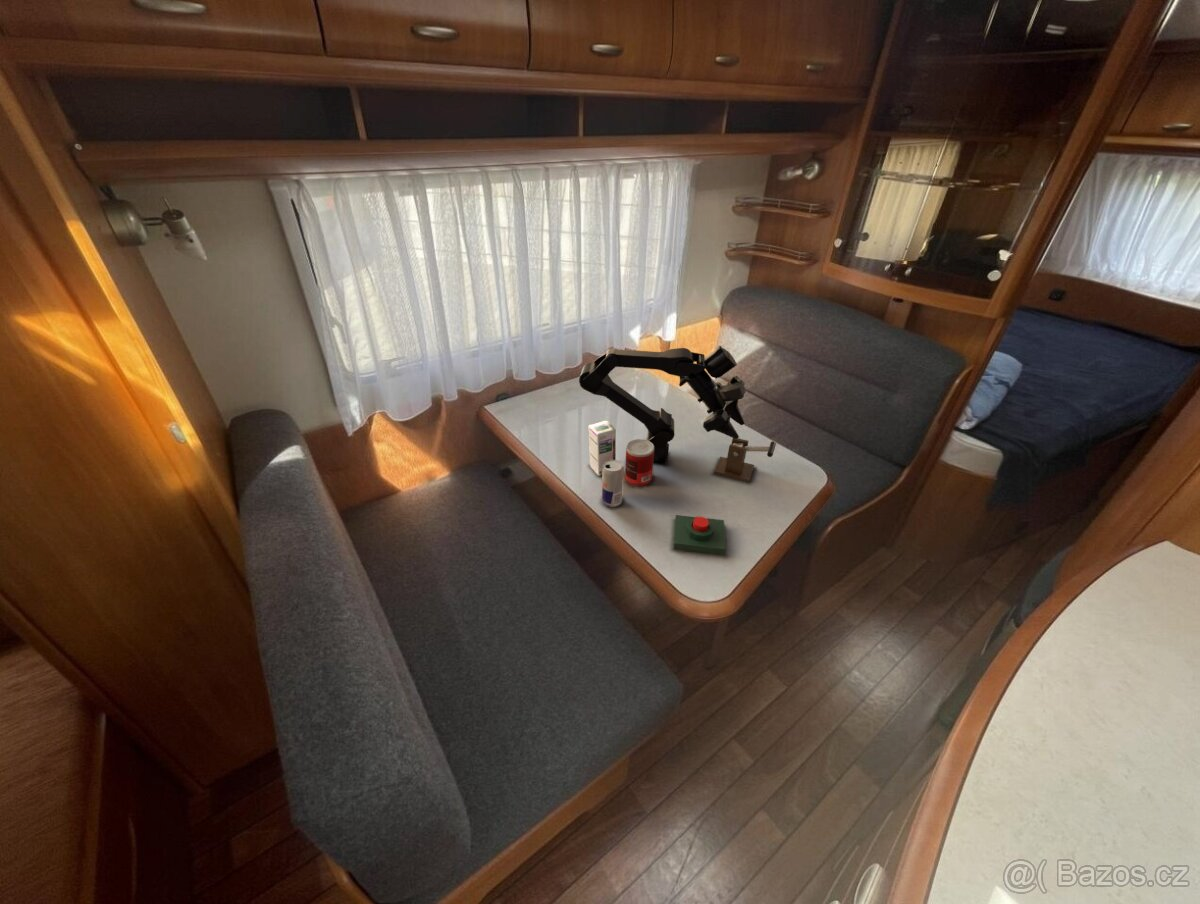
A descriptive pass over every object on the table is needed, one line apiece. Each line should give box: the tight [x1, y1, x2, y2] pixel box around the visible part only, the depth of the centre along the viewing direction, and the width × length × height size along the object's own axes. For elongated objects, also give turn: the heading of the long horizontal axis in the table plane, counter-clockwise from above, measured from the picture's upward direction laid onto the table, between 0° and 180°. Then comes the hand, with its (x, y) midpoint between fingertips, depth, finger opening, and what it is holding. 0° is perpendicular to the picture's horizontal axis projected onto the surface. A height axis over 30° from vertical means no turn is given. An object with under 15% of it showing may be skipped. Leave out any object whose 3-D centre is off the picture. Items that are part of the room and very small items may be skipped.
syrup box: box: [588, 420, 617, 477], centre depth 137 cm, size 6×6×14 cm
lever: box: [733, 441, 777, 458], centre depth 133 cm, size 11×6×2 cm, turn 65°
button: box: [693, 516, 709, 532], centre depth 115 cm, size 4×4×2 cm
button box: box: [672, 514, 727, 556], centre depth 116 cm, size 12×10×4 cm
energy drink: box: [601, 459, 624, 508], centre depth 125 cm, size 5×5×12 cm
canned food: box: [624, 438, 654, 487], centre depth 134 cm, size 8×8×11 cm
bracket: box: [713, 437, 755, 483], centre depth 137 cm, size 10×8×10 cm
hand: (740, 431), depth 132 cm, fingers open, 7 cm apart
